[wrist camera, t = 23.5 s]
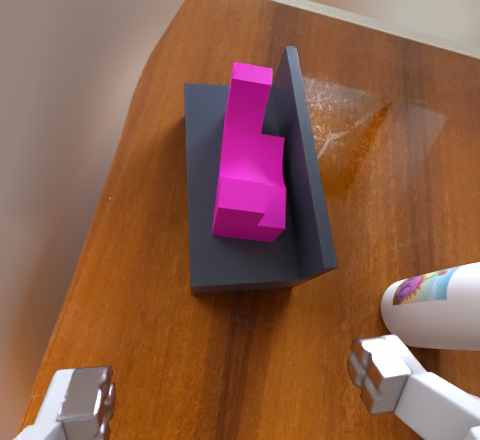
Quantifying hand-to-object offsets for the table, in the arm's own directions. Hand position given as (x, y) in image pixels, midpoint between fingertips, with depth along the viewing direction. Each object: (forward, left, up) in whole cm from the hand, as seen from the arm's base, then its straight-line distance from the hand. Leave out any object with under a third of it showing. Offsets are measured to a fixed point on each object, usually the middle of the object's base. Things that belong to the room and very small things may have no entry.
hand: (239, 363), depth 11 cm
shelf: (+5, +17, -25) cm, 30 cm away
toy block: (+5, +17, -19) cm, 26 cm away
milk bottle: (+25, +1, -25) cm, 35 cm away
